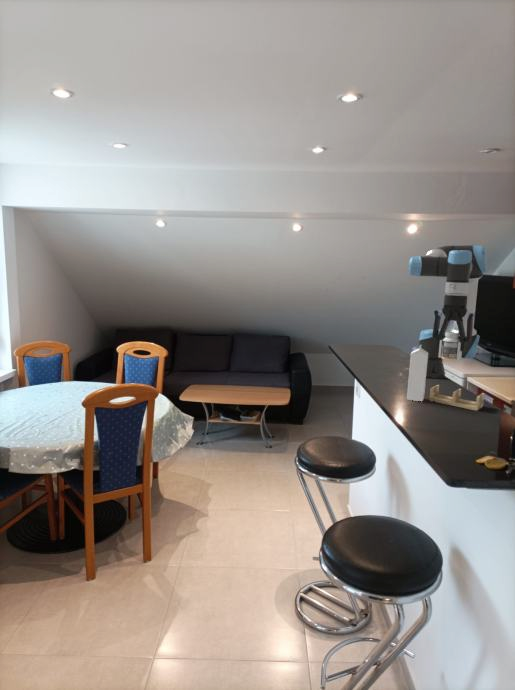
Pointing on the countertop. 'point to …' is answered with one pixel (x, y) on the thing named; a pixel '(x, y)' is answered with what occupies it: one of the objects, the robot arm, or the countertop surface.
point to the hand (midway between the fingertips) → (449, 358)
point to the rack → (456, 399)
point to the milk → (417, 375)
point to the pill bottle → (450, 346)
